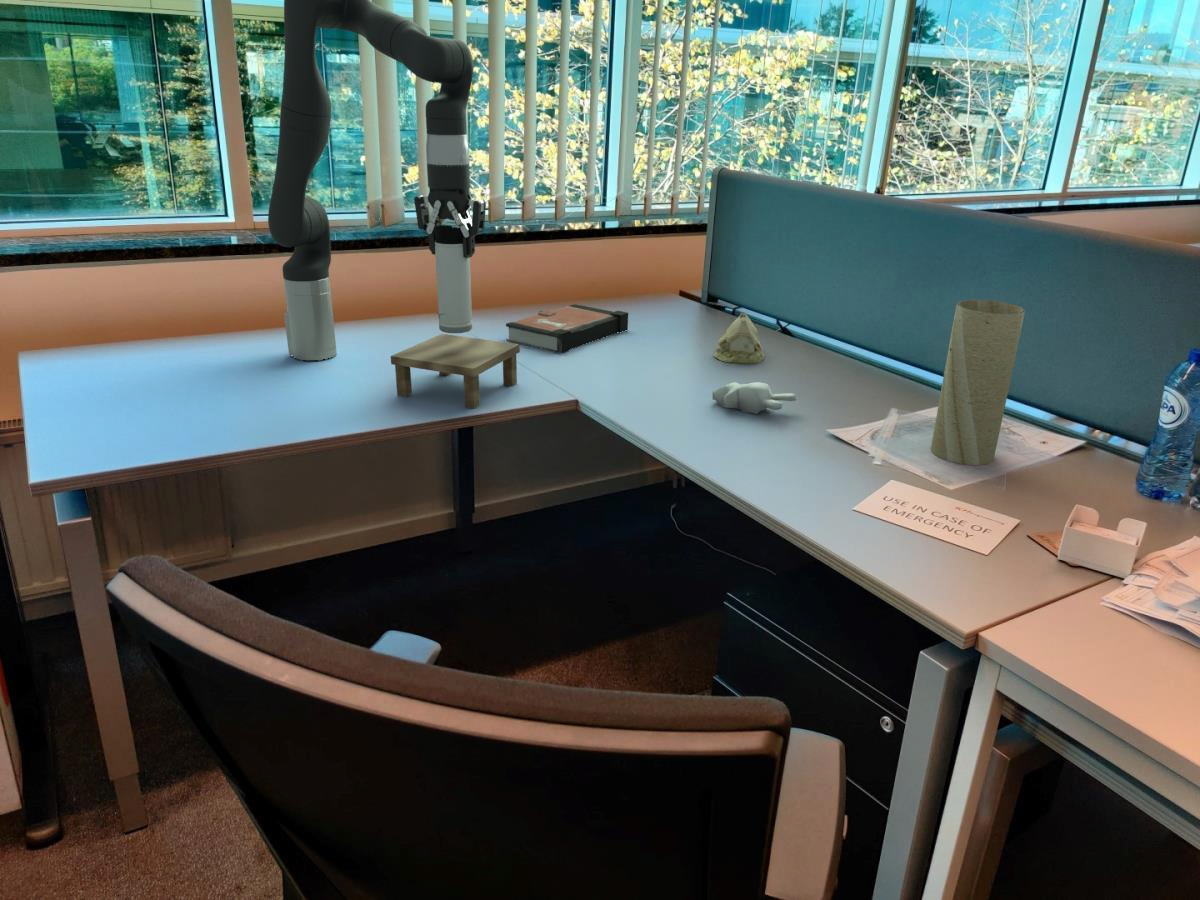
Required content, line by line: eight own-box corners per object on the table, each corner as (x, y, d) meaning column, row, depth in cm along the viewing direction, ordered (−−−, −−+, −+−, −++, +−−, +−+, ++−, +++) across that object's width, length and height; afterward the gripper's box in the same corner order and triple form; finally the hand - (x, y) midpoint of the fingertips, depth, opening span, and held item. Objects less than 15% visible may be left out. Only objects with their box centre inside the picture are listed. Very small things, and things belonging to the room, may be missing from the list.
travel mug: (433, 332, 165) (427, 225, 157) (446, 324, 171) (441, 220, 163) (465, 335, 164) (460, 226, 156) (476, 326, 170) (473, 221, 162)
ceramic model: (763, 366, 191) (767, 321, 187) (712, 362, 193) (715, 318, 189) (765, 349, 203) (769, 306, 200) (717, 345, 205) (720, 303, 202)
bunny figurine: (729, 375, 171) (800, 382, 161) (730, 400, 172) (800, 409, 163) (704, 387, 164) (776, 395, 155) (705, 413, 165) (776, 422, 156)
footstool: (393, 396, 167) (390, 356, 164) (443, 370, 182) (441, 333, 179) (475, 410, 161) (473, 368, 158) (520, 382, 176) (519, 344, 173)
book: (572, 320, 225) (572, 301, 223) (627, 332, 216) (628, 312, 214) (504, 341, 206) (503, 321, 204) (561, 355, 196) (561, 333, 194)
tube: (961, 468, 140) (991, 316, 130) (917, 446, 149) (943, 302, 139) (1007, 459, 144) (1040, 311, 134) (962, 438, 152) (989, 297, 143)
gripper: (493, 162, 156) (495, 256, 162) (425, 157, 161) (430, 249, 167) (472, 164, 149) (475, 262, 156) (401, 160, 154) (407, 255, 161)
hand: (452, 255), depth 162 cm, fingers closed on travel mug, 6 cm apart
